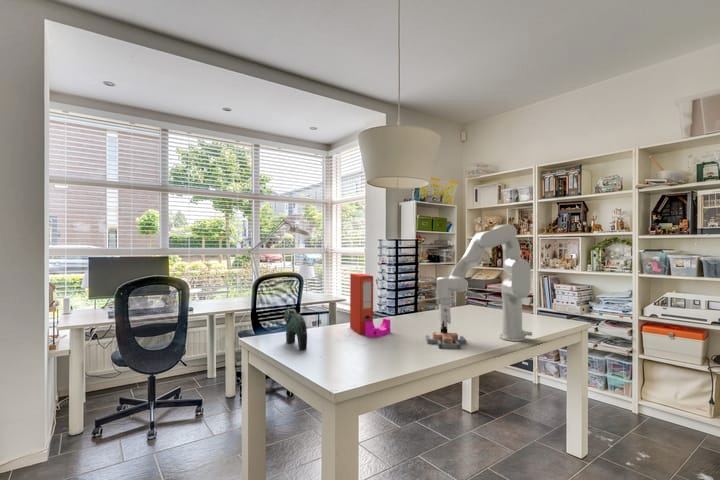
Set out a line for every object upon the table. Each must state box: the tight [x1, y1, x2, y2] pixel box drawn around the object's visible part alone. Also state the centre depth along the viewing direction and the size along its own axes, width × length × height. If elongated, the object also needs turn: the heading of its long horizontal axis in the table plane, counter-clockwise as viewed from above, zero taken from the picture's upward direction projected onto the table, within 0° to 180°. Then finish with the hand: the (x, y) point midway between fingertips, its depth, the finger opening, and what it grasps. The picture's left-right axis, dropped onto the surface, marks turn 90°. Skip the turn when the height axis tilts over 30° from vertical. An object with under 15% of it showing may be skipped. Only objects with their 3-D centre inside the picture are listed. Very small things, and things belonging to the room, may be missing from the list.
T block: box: [432, 332, 459, 344], centre depth 184 cm, size 12×12×4 cm
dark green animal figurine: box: [283, 304, 308, 351], centre depth 182 cm, size 20×6×20 cm, turn 33°
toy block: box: [364, 318, 391, 338], centre depth 204 cm, size 15×6×8 cm, turn 127°
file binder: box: [349, 273, 374, 336], centre depth 212 cm, size 8×17×32 cm, turn 19°
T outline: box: [425, 334, 467, 350], centre depth 184 cm, size 19×16×2 cm
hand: (444, 336), depth 192 cm, fingers closed
